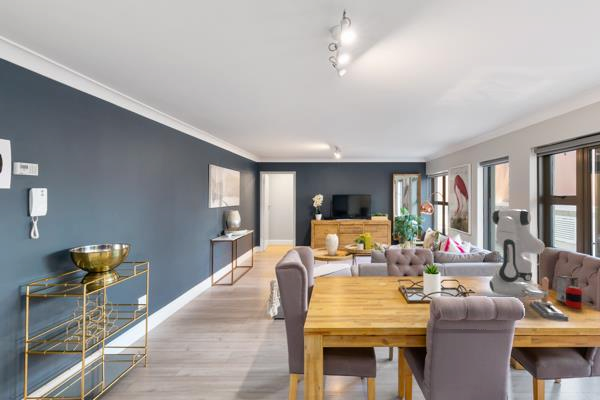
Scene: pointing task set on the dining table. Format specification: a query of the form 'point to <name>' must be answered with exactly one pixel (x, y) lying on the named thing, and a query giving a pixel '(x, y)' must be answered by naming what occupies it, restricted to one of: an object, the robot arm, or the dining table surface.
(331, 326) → the dining table surface
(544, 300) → the tan tall piece
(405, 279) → the dining table surface
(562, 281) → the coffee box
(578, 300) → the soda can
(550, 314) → the fader console
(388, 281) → the dining table surface
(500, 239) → the robot arm
